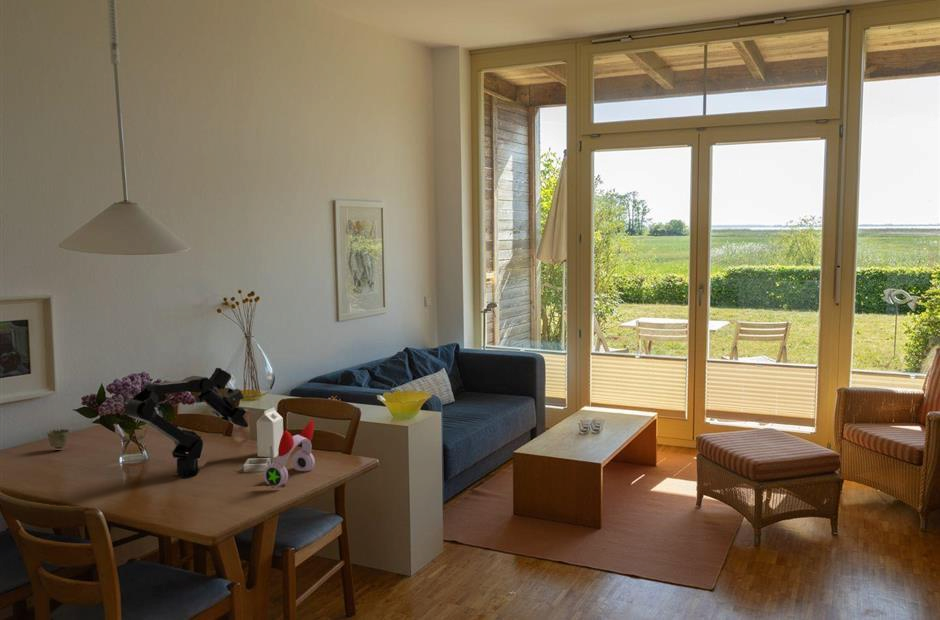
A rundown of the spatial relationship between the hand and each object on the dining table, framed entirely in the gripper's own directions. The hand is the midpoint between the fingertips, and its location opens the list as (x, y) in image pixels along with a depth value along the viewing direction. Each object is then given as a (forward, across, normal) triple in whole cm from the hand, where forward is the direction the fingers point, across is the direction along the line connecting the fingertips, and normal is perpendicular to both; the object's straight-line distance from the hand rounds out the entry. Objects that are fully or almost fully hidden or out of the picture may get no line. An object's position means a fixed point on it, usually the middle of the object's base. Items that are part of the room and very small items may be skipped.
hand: (244, 425), depth 290 cm
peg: (+3, 0, +5) cm, 6 cm away
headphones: (+11, -34, +8) cm, 37 cm away
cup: (-26, +63, +46) cm, 82 cm away
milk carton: (+16, -3, +4) cm, 16 cm away
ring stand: (+7, -18, +12) cm, 22 cm away
